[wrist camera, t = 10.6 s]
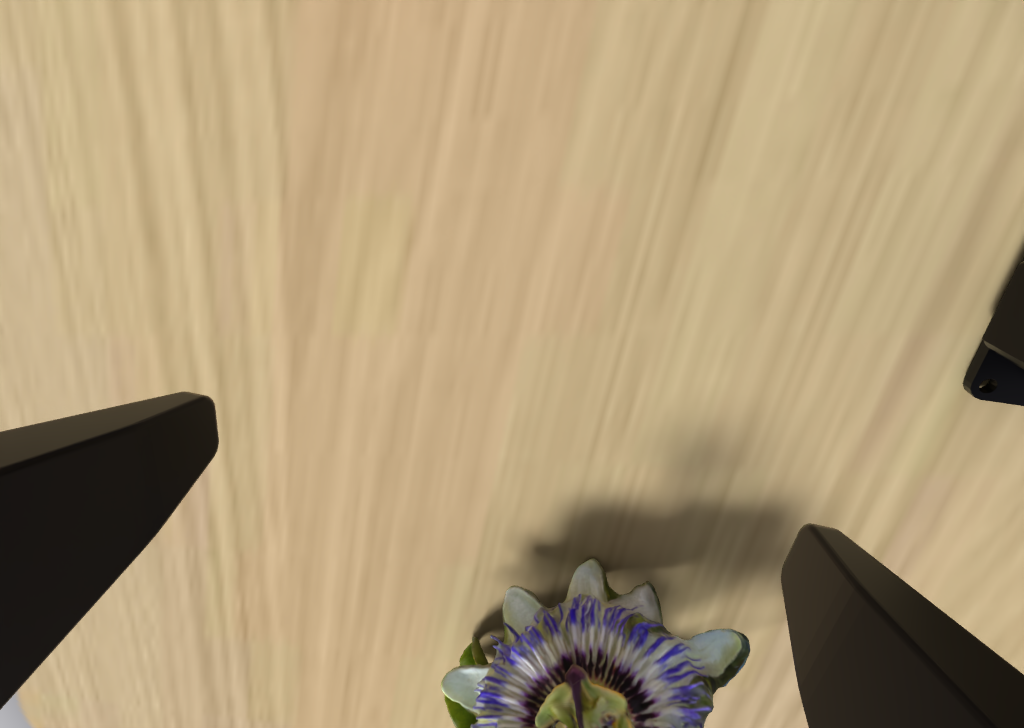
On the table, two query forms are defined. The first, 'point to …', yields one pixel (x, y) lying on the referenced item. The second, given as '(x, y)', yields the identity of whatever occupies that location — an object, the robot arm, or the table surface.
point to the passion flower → (591, 664)
